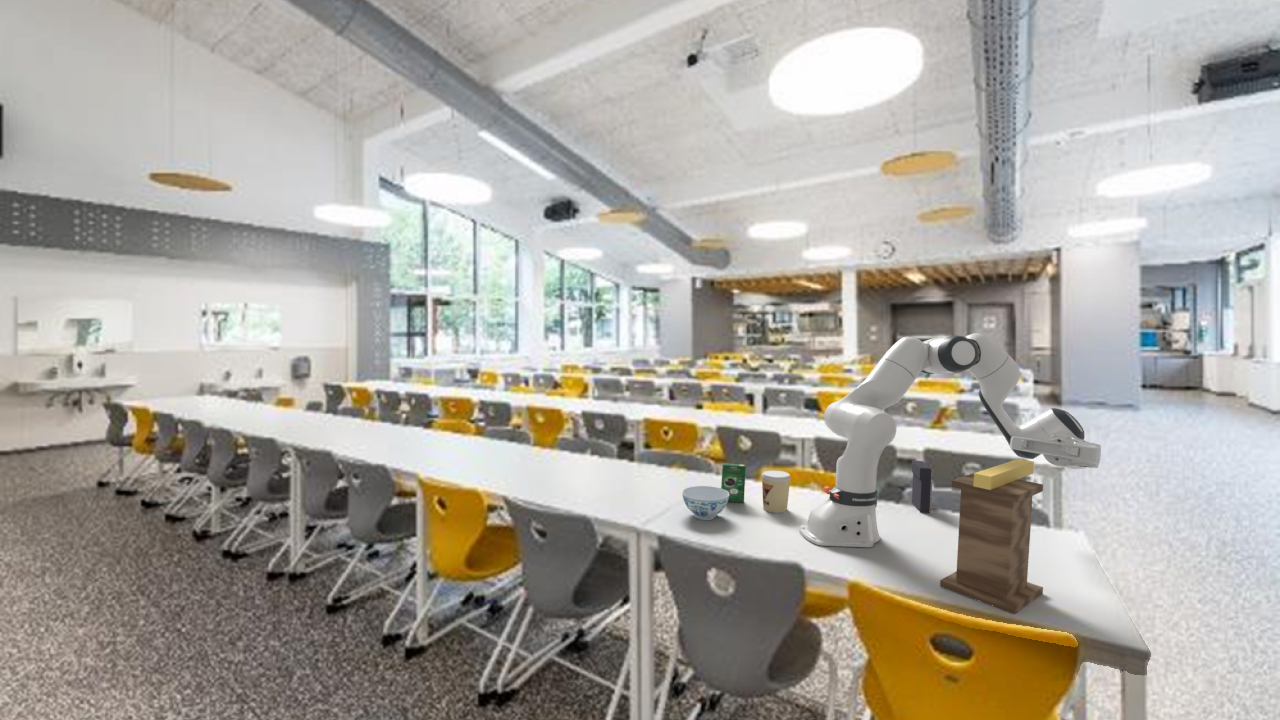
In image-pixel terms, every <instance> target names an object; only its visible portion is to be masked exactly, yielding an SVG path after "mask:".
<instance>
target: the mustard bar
mask: <svg viewBox="0 0 1280 720" xmlns="http://www.w3.org/2000/svg"><path fill="white" fill-rule="evenodd" d="M975 472H976V473H975ZM975 472H973V473H974V485H973V486H975V487H979V488H984V489H988V490H991V489H994V488H996V487H999V486H1002V485H1004V484H1007V483H1010V482H1012V481H1015V480H1017V479H1019V480H1021V479H1023V478H1025V477H1028V476H1031V475H1033V474H1034V461H1032V460H1029V459H1028V460H1026V459H1023V458H1022V459H1020V458H1016V459H1012V460H1010V461H1007V462H1004V463H1002V464H998V465H995V466H992V467H989V468H986V469H983V470H979V472H978V471H975Z"/></svg>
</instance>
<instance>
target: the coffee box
mask: <svg viewBox="0 0 1280 720" xmlns="http://www.w3.org/2000/svg"><path fill="white" fill-rule="evenodd" d="M746 470H747V467H746V464H741V463H740V464H739V463H722V468H721V486H720V488H721V489H724V490H726V491H728V492H729V499H728V502H727V503H739V504H742V503H745V488H746V487H745V485H746Z"/></svg>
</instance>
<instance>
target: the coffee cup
mask: <svg viewBox="0 0 1280 720" xmlns="http://www.w3.org/2000/svg"><path fill="white" fill-rule="evenodd" d="M790 481H791V475H790V473H788V472H787V471H783V470H774V469H773V470H772V469H771V470H765V471H763V472H762V474H761V482H762V483H761V484H762V487H761V488H762V507H763V510H765V511H766V512H769V513H774V514H775V513H776V514H777V513H778V514H779V513H786V512H787V511H788V506H789V505H788V504H789V493H790V484H791V483H790Z"/></svg>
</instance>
